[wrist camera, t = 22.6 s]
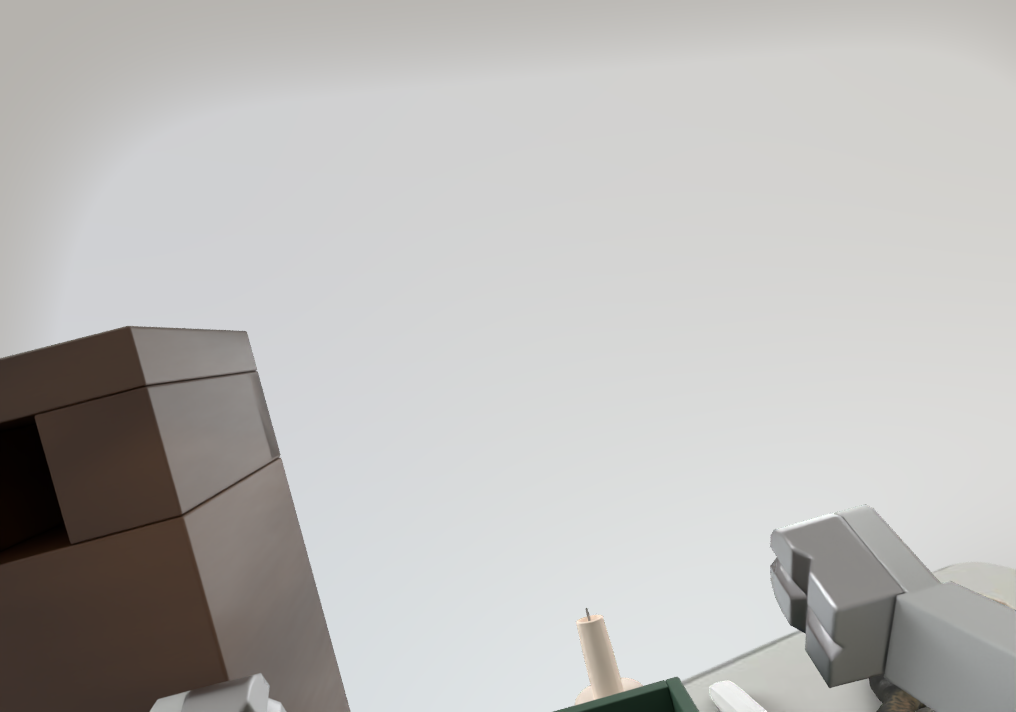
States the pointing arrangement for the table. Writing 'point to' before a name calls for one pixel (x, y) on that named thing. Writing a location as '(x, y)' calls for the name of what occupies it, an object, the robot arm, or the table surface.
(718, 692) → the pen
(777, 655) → the table surface
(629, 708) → the bin
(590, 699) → the candle
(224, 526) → the stand
